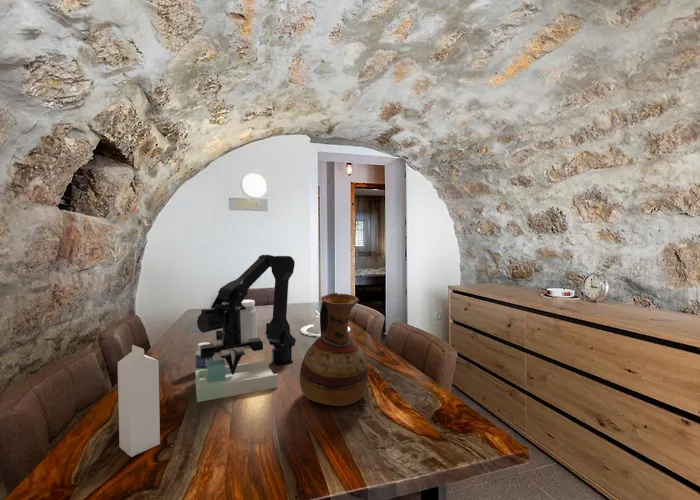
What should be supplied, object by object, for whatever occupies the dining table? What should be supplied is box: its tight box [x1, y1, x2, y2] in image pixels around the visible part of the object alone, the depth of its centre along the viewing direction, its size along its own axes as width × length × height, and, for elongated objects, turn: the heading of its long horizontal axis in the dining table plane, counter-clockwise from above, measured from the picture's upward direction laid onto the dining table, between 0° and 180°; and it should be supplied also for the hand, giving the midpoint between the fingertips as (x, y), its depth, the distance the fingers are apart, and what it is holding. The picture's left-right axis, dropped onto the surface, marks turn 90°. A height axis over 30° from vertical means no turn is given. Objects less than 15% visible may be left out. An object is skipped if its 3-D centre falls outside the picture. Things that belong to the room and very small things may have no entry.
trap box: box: [194, 359, 279, 403], centre depth 110 cm, size 23×15×4 cm, turn 115°
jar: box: [241, 299, 258, 343], centre depth 161 cm, size 10×10×18 cm
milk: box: [117, 344, 161, 458], centre depth 77 cm, size 6×6×22 cm
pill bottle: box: [195, 341, 213, 371], centre depth 122 cm, size 5×5×10 cm
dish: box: [300, 309, 351, 338], centre depth 177 cm, size 25×25×11 cm
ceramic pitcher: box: [299, 292, 369, 407], centre depth 101 cm, size 20×20×30 cm
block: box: [207, 358, 226, 383], centre depth 110 cm, size 5×5×5 cm
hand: (232, 374), depth 113 cm, fingers closed
